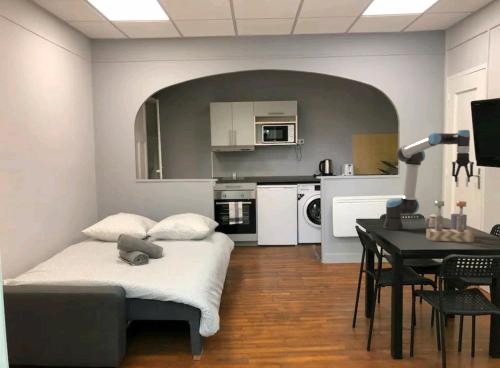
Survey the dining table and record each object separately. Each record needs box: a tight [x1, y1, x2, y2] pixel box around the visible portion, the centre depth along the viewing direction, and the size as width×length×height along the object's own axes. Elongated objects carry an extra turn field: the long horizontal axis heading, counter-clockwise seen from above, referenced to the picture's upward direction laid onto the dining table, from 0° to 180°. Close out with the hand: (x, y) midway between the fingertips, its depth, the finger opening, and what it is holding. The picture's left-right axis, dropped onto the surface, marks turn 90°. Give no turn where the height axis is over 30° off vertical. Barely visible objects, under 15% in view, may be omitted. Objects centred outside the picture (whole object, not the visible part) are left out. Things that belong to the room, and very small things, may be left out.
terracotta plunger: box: [456, 200, 467, 217], centre depth 297 cm, size 6×6×14 cm
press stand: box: [425, 215, 475, 243], centre depth 299 cm, size 28×12×16 cm, turn 78°
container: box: [450, 213, 468, 230], centre depth 314 cm, size 10×10×15 cm
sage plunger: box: [434, 200, 445, 217], centre depth 300 cm, size 6×6×14 cm
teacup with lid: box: [424, 212, 438, 228], centre depth 348 cm, size 12×9×12 cm
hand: (461, 186), depth 295 cm, fingers open, 5 cm apart
